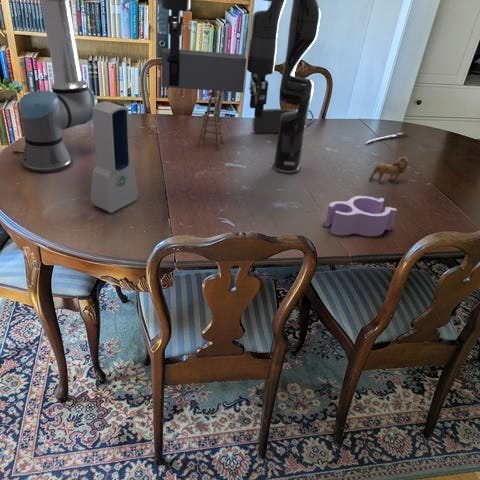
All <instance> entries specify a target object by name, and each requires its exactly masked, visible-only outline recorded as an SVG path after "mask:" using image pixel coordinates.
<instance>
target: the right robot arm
mask: <svg viewBox="0 0 480 480" xmlns="http://www.w3.org/2000/svg"><path fill="white" fill-rule="evenodd" d="M263 1H265V2H270V5H269V7H268V8H267V9H264V10H256V11H255V12H254V13H253V15H252V21H251V31H250V38H249V39H250V40H249V44H248V51H247V52H248V54H247V61H246V70H247V72H249V73H250V80H249V88H248V89H249V93H250V94H249V95H250V97H249V108H250V109H254V118H255V117H256V118H261V117H262V114H263V109H264V106H265V105H267V100H268V99H267V98H268V90H269V81H268V80H266V79H267V77H266V76H268V75H272V74H273V73H274V72H275V64H276V58H277V48H278V33H279V25H280V20H281V17H282V15H283V14H282V13H283V11H284V9H285V5H286V3H287V0H263ZM291 6H292V7H291V11H290V19H289V26H288V35H287V47H286V55H285V60H284V64H283V65H284V66H283V70H282V75H281V81H280V85H279V94H278V95H279V101H280V102H281V103H283V104H286V105H287V104H288V105H291V106H297V109H298V110H296V111H293V112H286V113H283V114H282V115H281V118H280V125H279V133H277V140H276V147H275V154H274V161H273V162H274V163H273V164H272V165H273V166H272V168H273V170H275V171H277V172H279V173H281V174H282V173H283V174H295V173H297V172H299V168H300V164H301V163H300V162H301V157H302V150H303V145H304V138H305V132H306V128H308V126H310V125H311V124H312V123H313V121H314V119H315V116H314V114H313V112H312V111H311V109H310V107H311V103H312V98H313V93H314V82H313V81H312V79H309V78H304V77H300V76H295V72H296V69H297V66H298V64H299V62H300V61H301V59H302V58H303V56H304V55H305V54H306V53H307V51H308V50H310V48H311V47H312V45H313V44H314V43H315V41H316V40H317V37H318V32H319V27H320V20H321V10H320V7H319V4H318V1H317V0H292V5H291ZM309 113H310V114H311V120H310V121H309V122H308V123H307V121H308V115H309Z"/></svg>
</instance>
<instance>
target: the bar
mask: <svg viewBox="0 0 480 480" xmlns="http://www.w3.org/2000/svg"><path fill="white" fill-rule="evenodd" d="M173 57H174V56H173ZM169 58H170V47H169V48H167V47H162V49H161V87H162V88H170V89H171V88H172V89H185V90H198V91H199V90H201V91H211V92H212V91H217V92H227V93H229V92H230V93H240V94H241V93H244V88H245V77H246V70H247V56H246V55H245V54H241V53H240V54H239V53H229V52H218V51H216V52H215V51H204V50H192V49H181V48H180V49H179V86H169V62H167V59H169Z"/></svg>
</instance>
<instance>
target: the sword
mask: <svg viewBox="0 0 480 480" xmlns="http://www.w3.org/2000/svg"><path fill="white" fill-rule="evenodd" d="M402 133H403V132H400V133H397V132H395V133H393V134H389V135H384V136H381V137H375V138H373V139H369V140H367V141H366V142H365V145H368V144H371V143H374V142H377V141H381V140H385V139H389V138H394V137H400V136H403V135H404V136H405V134H402ZM409 134H410V132H408V134H407V135H409Z"/></svg>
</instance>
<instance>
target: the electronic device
mask: <svg viewBox="0 0 480 480" xmlns="http://www.w3.org/2000/svg"><path fill="white" fill-rule="evenodd" d="M92 114H93V119H92V124H93V125H92V126H93V136H94V137H93V138H94V150H95V161H96V165H95V166H94V168H93V170H92V174H91V175H92V176H91V185H90V198H89V199H90V200H91V202H92V204H93V206H95V207H96V208H99V209H101V210H103V211H106V212H108V213H110V214H112V213H114V212H116V211H118V210H120V209H122V208H124V207H125V206H128V205H130V204H131V203H134V202H135V201H136V200H137V199H138V194H139V193H138V187H137V178H136V169H135V165H133V164H132V163H131V145H130V143H131V142H130V116H129V107H126V106H123V105H119V104H116V103H113V102H110V101H100V102H98V103H97V104H96V105H94V106H93V107H92Z"/></svg>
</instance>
